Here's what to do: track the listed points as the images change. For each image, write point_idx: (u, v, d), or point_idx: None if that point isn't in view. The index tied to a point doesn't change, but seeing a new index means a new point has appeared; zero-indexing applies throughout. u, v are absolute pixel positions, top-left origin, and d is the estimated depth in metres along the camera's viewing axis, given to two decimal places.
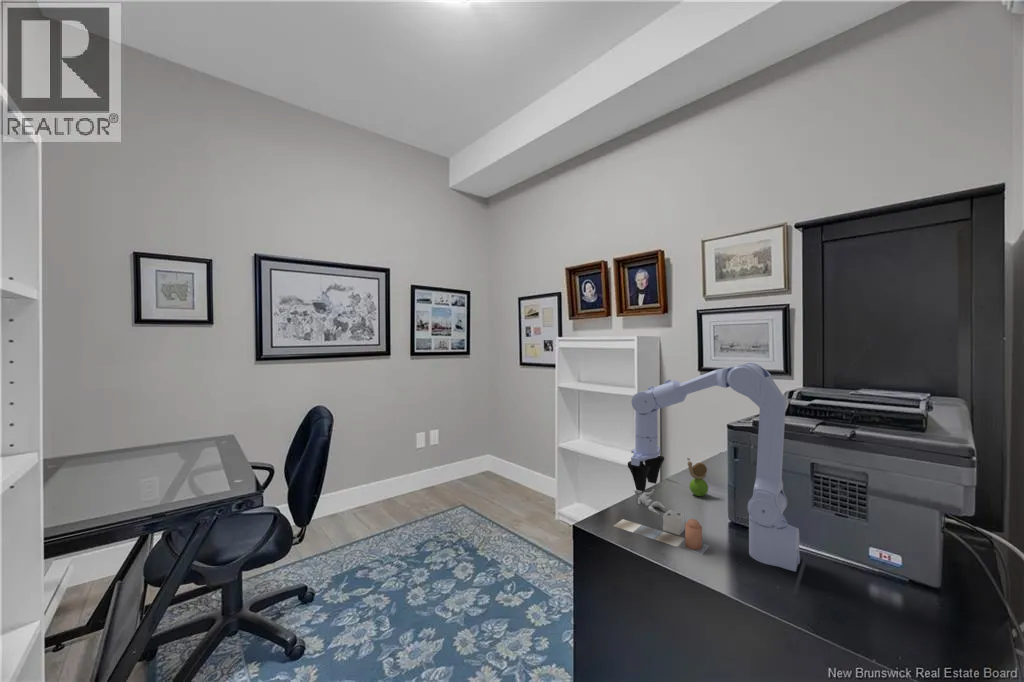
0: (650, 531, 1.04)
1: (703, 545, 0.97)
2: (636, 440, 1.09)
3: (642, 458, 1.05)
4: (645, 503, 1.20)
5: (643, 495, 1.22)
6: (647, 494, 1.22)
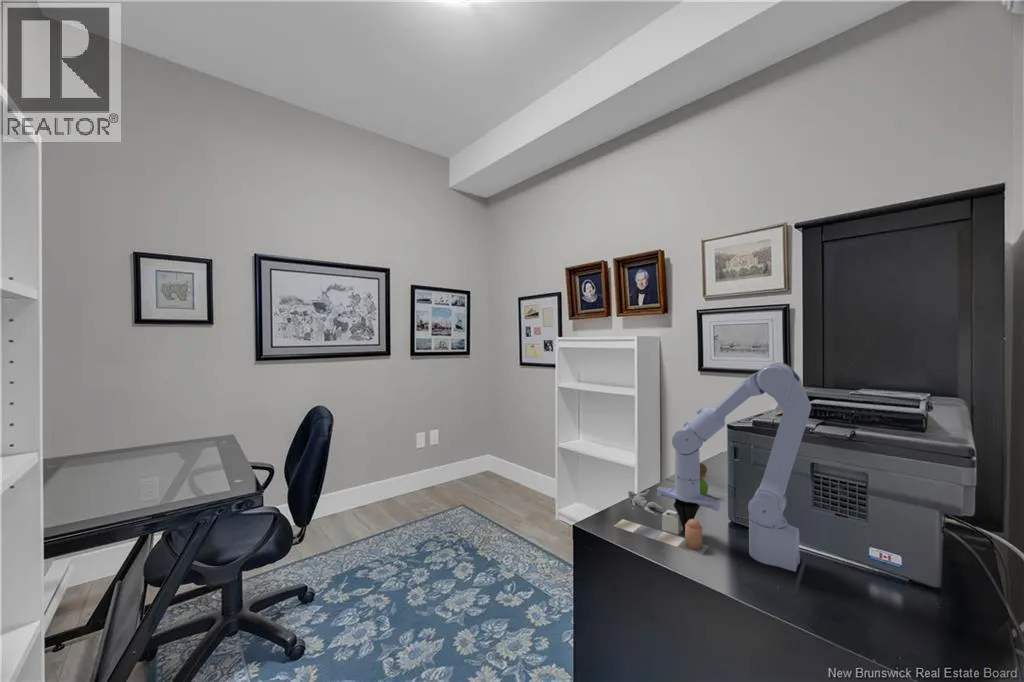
0: (650, 531, 1.04)
1: (703, 545, 0.97)
2: None
3: (663, 491, 1.05)
4: (640, 504, 1.19)
5: (637, 496, 1.21)
6: (641, 495, 1.22)
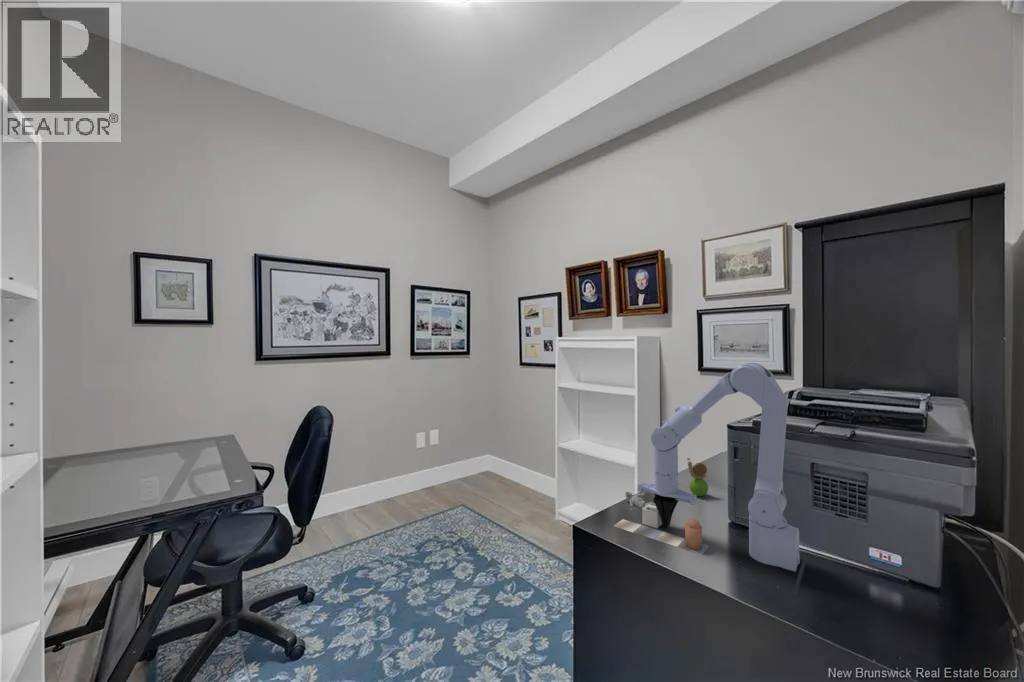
0: (650, 531, 1.04)
1: (703, 545, 0.97)
2: None
3: (643, 487, 1.09)
4: (638, 505, 1.19)
5: (635, 496, 1.21)
6: (639, 495, 1.21)
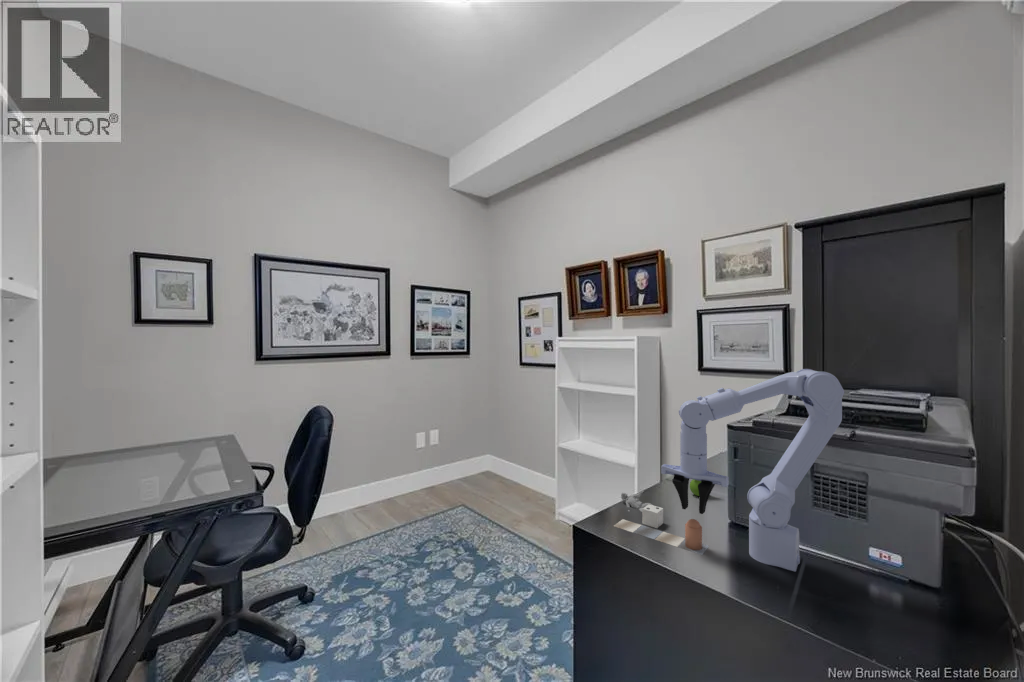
0: (650, 531, 1.04)
1: (703, 545, 0.97)
2: None
3: (668, 468, 0.99)
4: (635, 506, 1.18)
5: (631, 497, 1.20)
6: (635, 496, 1.21)
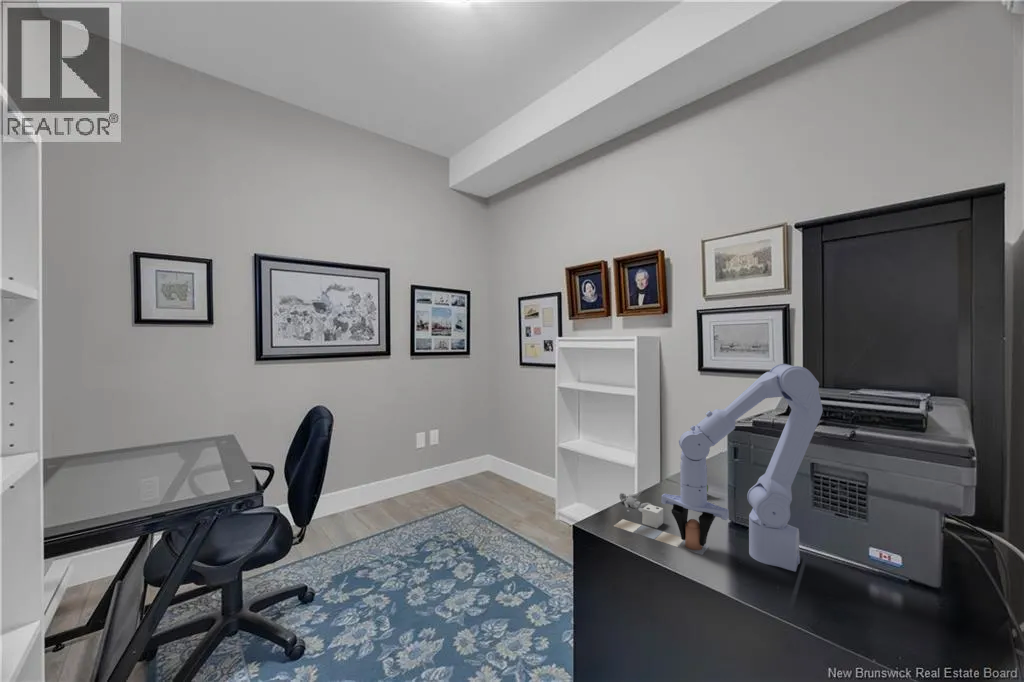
0: (650, 531, 1.04)
1: None
2: None
3: (668, 499, 0.99)
4: (634, 505, 1.18)
5: (630, 497, 1.20)
6: (633, 496, 1.21)
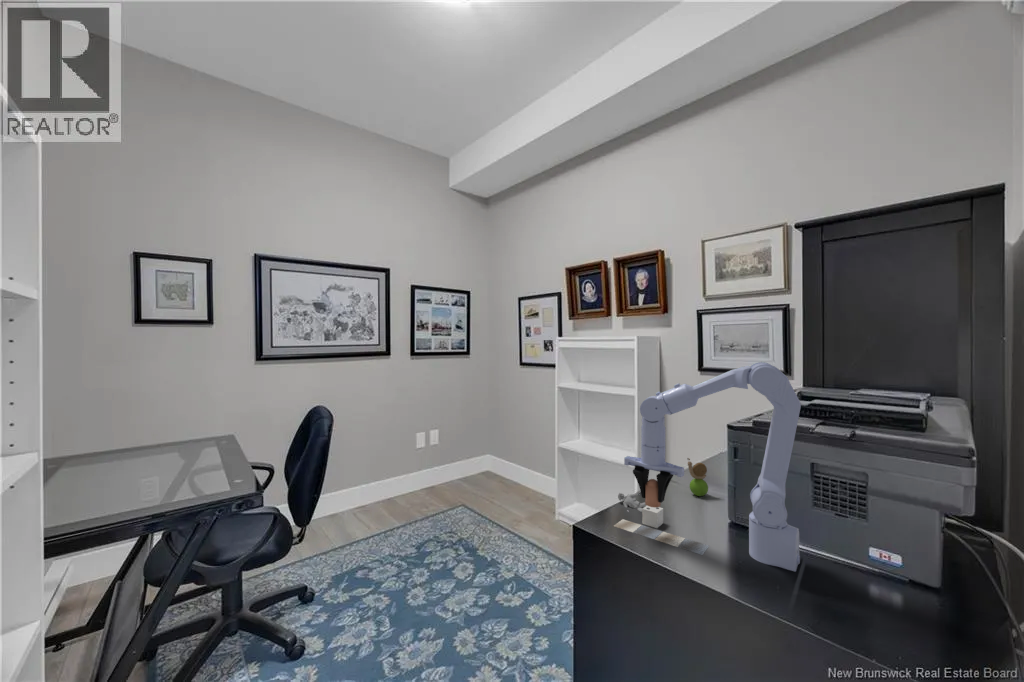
0: (650, 531, 1.04)
1: (703, 545, 0.97)
2: None
3: (630, 460, 1.05)
4: (633, 505, 1.18)
5: (629, 497, 1.20)
6: (632, 496, 1.21)
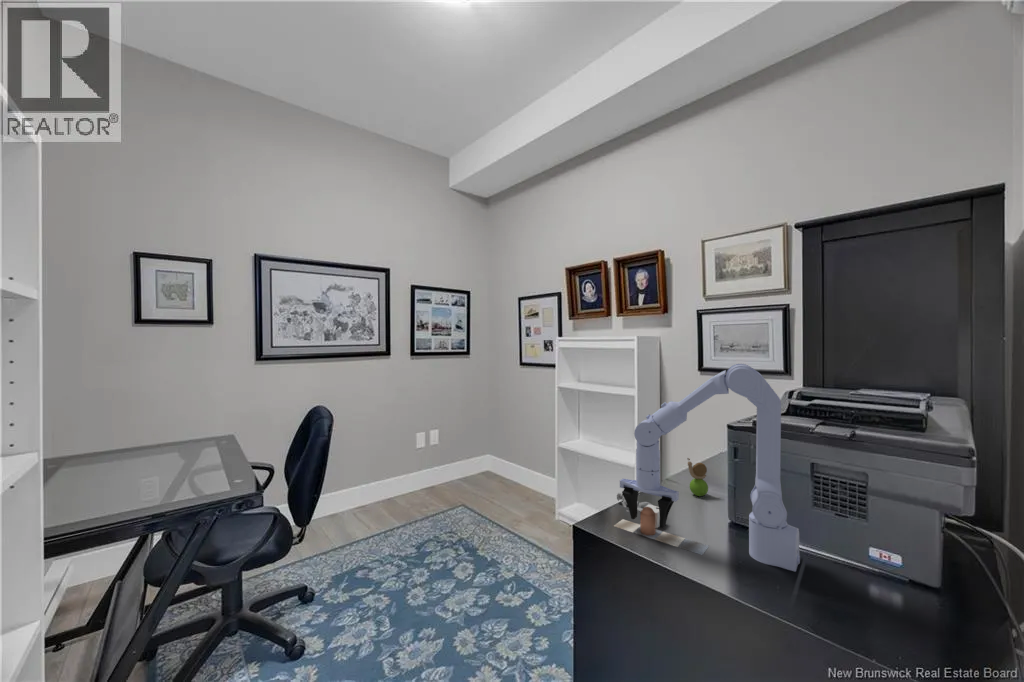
0: None
1: (703, 545, 0.97)
2: None
3: (625, 483, 1.06)
4: None
5: None
6: None
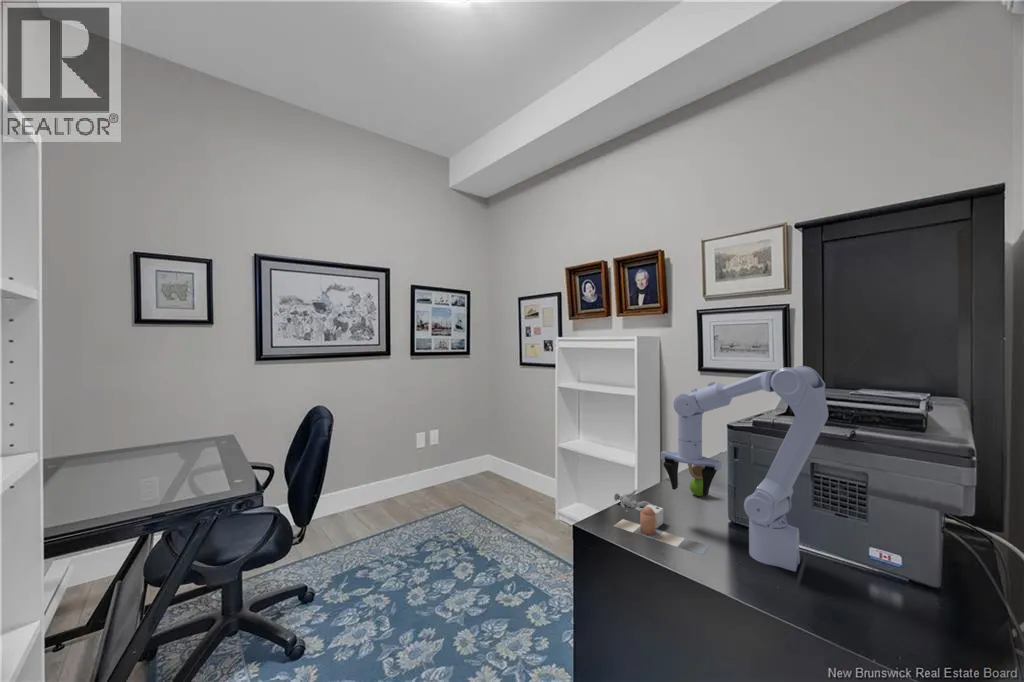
0: None
1: (703, 545, 0.97)
2: None
3: (667, 454, 1.09)
4: (631, 505, 1.19)
5: (626, 497, 1.20)
6: (628, 495, 1.21)
